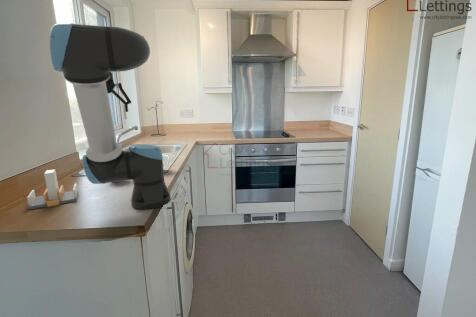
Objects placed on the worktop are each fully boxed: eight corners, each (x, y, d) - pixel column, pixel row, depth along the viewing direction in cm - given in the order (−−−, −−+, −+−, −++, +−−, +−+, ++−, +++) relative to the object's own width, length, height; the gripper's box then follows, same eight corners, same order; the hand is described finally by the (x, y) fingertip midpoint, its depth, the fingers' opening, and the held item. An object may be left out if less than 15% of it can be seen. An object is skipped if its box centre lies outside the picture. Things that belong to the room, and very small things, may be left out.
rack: (76, 201, 107) (74, 190, 106) (28, 210, 100) (25, 198, 99) (78, 192, 118) (76, 182, 117) (35, 199, 111) (32, 189, 110)
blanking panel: (58, 199, 107) (53, 172, 105) (49, 200, 106) (44, 173, 103) (60, 194, 112) (55, 169, 110) (51, 196, 111) (46, 170, 108)
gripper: (131, 72, 123) (137, 118, 128) (70, 71, 111) (78, 121, 116) (133, 71, 116) (139, 118, 121) (68, 70, 105) (77, 122, 110)
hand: (109, 120), depth 119 cm, fingers open, 13 cm apart
